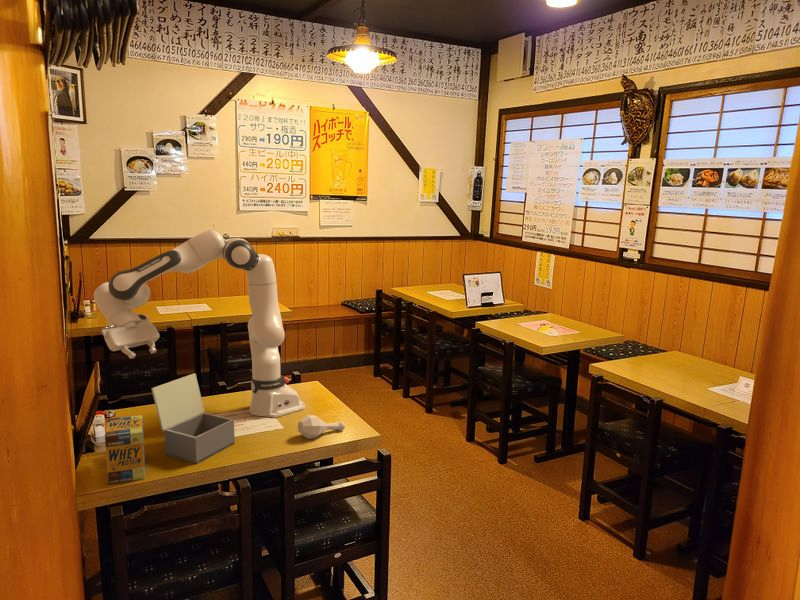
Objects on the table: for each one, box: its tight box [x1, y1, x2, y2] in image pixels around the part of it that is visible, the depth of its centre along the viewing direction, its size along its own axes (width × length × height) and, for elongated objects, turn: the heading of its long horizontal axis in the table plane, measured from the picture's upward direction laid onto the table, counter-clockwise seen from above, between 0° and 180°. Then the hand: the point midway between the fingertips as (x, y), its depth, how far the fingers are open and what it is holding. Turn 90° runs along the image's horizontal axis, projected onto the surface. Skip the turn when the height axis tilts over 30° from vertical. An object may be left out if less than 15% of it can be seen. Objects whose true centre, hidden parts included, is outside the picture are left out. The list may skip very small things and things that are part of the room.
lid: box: [151, 373, 206, 431], centre depth 202 cm, size 14×19×1 cm
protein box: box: [104, 414, 146, 485], centre depth 183 cm, size 10×15×16 cm
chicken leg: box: [297, 414, 346, 440], centre depth 216 cm, size 8×18×8 cm, turn 124°
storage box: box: [163, 412, 236, 465], centre depth 200 cm, size 14×18×9 cm
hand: (144, 354), depth 207 cm, fingers open, 8 cm apart
